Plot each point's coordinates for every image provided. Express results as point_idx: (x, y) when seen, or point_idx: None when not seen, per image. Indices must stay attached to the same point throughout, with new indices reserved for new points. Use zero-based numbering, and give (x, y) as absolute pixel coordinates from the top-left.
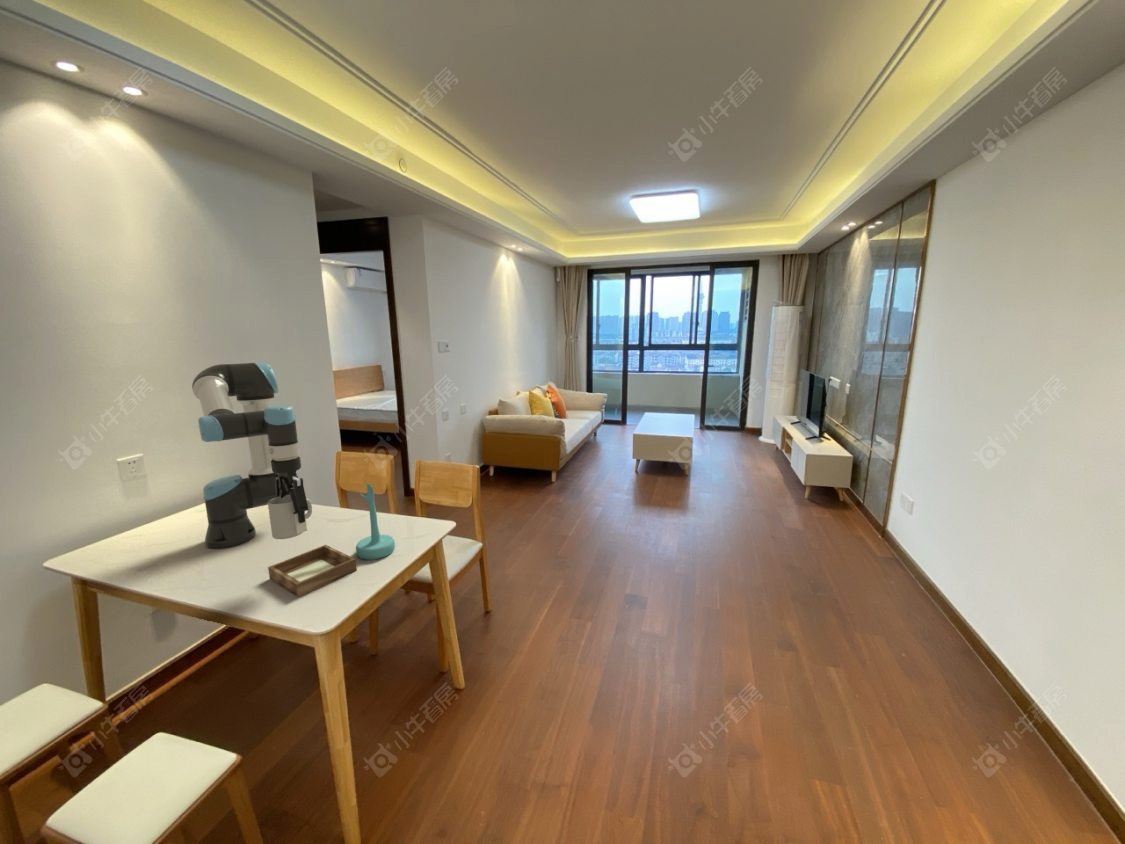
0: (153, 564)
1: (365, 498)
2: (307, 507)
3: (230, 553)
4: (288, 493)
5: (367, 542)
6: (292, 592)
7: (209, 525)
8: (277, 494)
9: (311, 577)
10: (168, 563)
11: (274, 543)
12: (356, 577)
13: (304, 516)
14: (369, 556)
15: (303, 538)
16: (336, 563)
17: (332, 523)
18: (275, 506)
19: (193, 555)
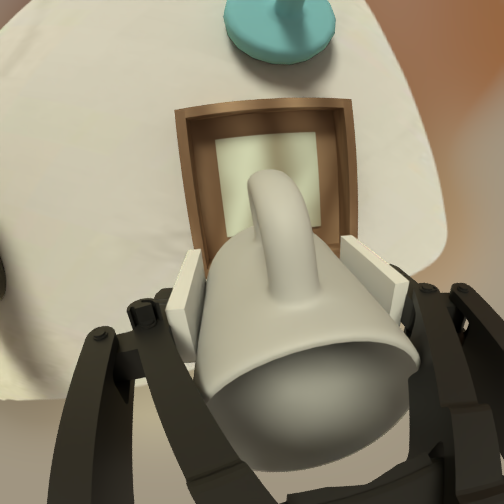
0: (26, 363)
1: None
2: (474, 294)
3: (27, 284)
4: (204, 403)
5: (269, 23)
6: None
7: None
8: (131, 427)
9: (353, 223)
10: (29, 353)
11: (23, 204)
12: (367, 125)
13: (410, 279)
14: (317, 53)
15: (37, 140)
16: (270, 120)
17: (18, 67)
18: (355, 441)
19: (14, 324)
